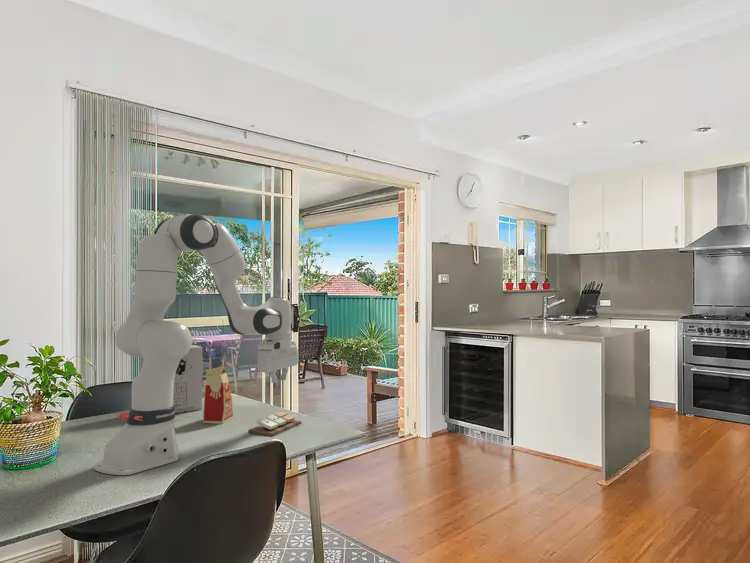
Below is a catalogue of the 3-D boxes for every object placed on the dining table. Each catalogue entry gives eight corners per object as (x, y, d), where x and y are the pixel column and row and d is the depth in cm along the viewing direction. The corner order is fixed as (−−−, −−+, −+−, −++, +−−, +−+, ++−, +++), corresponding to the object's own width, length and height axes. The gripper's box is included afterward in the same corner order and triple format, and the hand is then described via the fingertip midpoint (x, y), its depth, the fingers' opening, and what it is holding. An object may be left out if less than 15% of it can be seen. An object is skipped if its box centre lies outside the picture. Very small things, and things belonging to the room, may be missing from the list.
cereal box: (196, 406, 213) (197, 345, 214) (202, 409, 207) (202, 346, 207) (139, 413, 201) (140, 348, 201) (143, 417, 195) (144, 350, 195)
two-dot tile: (279, 425, 176) (280, 422, 176) (265, 419, 179) (265, 416, 179) (286, 423, 180) (286, 420, 180) (272, 417, 182) (272, 414, 182)
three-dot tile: (287, 422, 181) (288, 419, 181) (273, 416, 183) (274, 413, 183) (294, 419, 184) (294, 416, 184) (280, 414, 187) (281, 411, 187)
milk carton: (233, 417, 194) (233, 363, 195) (224, 423, 185) (224, 367, 185) (210, 416, 195) (210, 363, 195) (199, 423, 186) (199, 367, 186)
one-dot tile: (270, 429, 172) (271, 426, 172) (256, 423, 174) (256, 420, 174) (277, 426, 175) (278, 423, 175) (263, 420, 178) (264, 417, 178)
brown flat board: (273, 436, 169) (273, 429, 169) (248, 432, 174) (248, 425, 174) (301, 423, 185) (301, 417, 185) (278, 421, 189) (278, 414, 189)
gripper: (288, 339, 196) (288, 376, 196) (254, 344, 177) (254, 385, 177) (302, 340, 193) (302, 377, 193) (269, 345, 175) (269, 386, 174)
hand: (279, 381), depth 185 cm, fingers open, 4 cm apart
